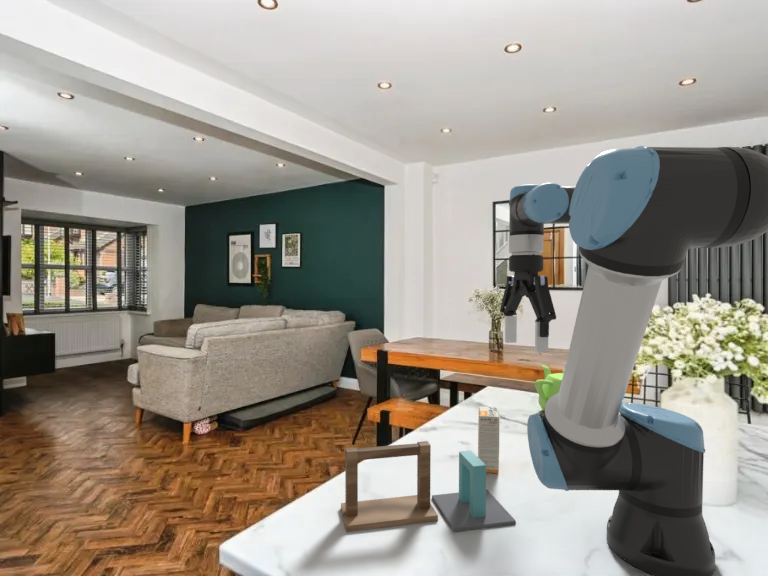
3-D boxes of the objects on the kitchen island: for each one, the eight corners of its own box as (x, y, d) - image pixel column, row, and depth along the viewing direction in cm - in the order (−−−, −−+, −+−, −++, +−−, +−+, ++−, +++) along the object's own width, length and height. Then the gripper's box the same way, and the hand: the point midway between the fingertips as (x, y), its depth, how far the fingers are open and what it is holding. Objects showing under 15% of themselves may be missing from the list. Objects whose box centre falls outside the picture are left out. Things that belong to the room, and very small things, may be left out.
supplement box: (499, 474, 101) (500, 417, 100) (478, 472, 102) (478, 415, 101) (497, 459, 109) (498, 406, 109) (477, 457, 110) (478, 405, 109)
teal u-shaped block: (485, 516, 82) (486, 465, 82) (473, 517, 82) (473, 466, 81) (470, 497, 89) (470, 450, 89) (458, 499, 88) (459, 451, 88)
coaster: (515, 523, 81) (515, 520, 81) (453, 531, 78) (453, 528, 78) (486, 492, 92) (486, 489, 92) (431, 498, 90) (431, 495, 90)
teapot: (594, 426, 132) (595, 379, 132) (527, 415, 143) (527, 371, 143) (602, 410, 148) (603, 367, 148) (541, 401, 159) (541, 361, 158)
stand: (437, 520, 82) (438, 450, 81) (346, 531, 78) (346, 458, 78) (424, 499, 90) (425, 435, 89) (341, 508, 86) (340, 442, 86)
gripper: (575, 252, 90) (573, 356, 91) (514, 256, 114) (513, 338, 115) (541, 251, 88) (540, 357, 89) (487, 256, 113) (486, 339, 113)
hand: (525, 347), depth 102 cm, fingers open, 13 cm apart
